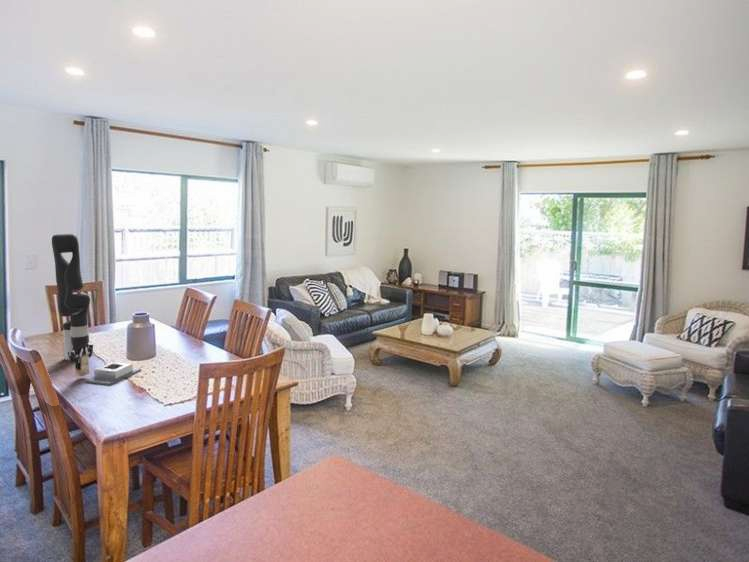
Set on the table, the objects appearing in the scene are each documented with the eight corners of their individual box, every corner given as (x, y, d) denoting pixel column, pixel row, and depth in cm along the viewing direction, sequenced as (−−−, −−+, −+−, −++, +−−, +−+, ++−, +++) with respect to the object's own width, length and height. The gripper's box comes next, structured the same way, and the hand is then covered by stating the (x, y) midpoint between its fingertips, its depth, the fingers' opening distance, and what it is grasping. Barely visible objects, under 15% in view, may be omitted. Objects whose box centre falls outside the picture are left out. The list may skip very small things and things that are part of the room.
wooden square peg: (75, 375, 242) (74, 355, 241) (82, 372, 246) (80, 353, 244) (82, 376, 241) (81, 356, 240) (89, 373, 245) (87, 354, 244)
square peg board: (85, 382, 239) (84, 372, 238) (117, 367, 260) (117, 358, 259) (110, 385, 236) (109, 375, 235) (141, 370, 257) (140, 361, 256)
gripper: (84, 329, 248) (86, 362, 251) (61, 337, 234) (63, 372, 237) (97, 331, 246) (99, 364, 249) (74, 338, 233) (77, 373, 236)
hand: (82, 367), depth 243 cm, fingers closed on wooden square peg, 4 cm apart
